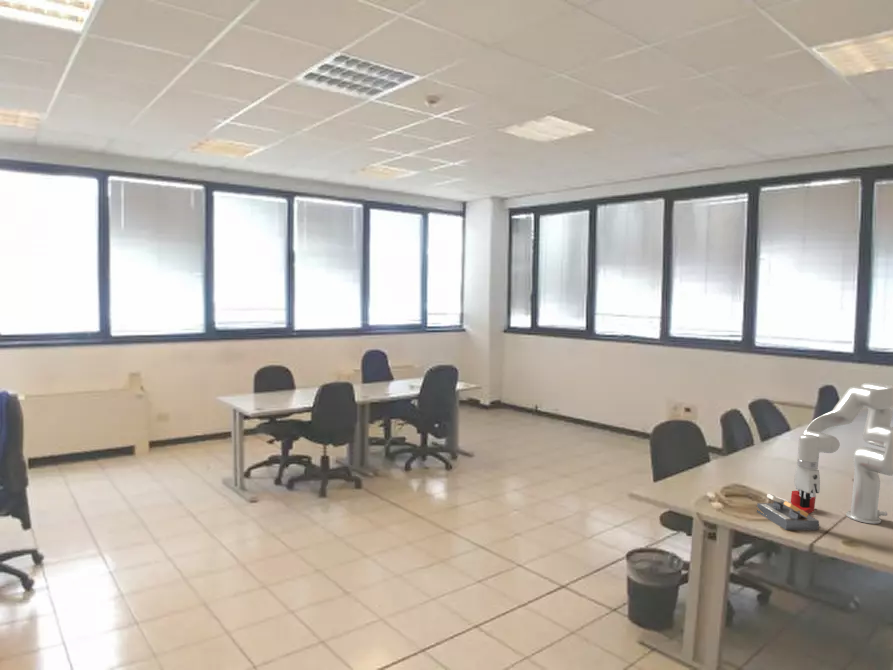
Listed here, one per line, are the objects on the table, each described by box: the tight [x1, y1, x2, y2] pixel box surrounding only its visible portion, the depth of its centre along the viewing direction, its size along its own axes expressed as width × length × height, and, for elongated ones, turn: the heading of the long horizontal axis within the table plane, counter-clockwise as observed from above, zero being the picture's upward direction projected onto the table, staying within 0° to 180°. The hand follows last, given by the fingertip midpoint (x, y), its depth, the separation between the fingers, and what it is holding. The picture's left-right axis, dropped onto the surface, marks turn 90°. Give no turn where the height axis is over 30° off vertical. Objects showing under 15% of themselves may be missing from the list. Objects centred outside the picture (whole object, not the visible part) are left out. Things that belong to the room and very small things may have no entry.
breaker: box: [766, 493, 791, 504], centre depth 264 cm, size 9×5×2 cm, turn 96°
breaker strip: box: [756, 500, 820, 531], centre depth 258 cm, size 14×20×6 cm
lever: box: [790, 490, 817, 515], centre depth 271 cm, size 18×9×7 cm, turn 144°
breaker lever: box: [784, 500, 809, 517], centre depth 253 cm, size 9×5×2 cm, turn 96°
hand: (804, 506), depth 253 cm, fingers closed
